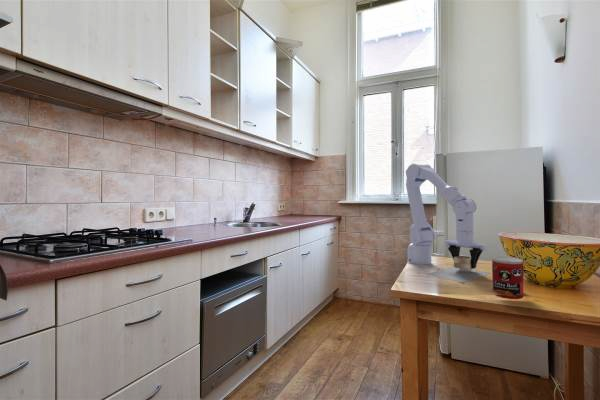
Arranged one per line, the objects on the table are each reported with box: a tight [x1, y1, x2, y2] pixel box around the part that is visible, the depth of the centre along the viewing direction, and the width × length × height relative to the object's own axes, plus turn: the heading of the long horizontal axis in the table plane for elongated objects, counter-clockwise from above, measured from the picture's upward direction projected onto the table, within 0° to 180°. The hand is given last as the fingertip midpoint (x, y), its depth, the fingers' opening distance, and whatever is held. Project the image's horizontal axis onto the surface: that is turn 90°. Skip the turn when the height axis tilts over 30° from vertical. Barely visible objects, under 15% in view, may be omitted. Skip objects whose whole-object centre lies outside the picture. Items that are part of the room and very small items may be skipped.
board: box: [426, 265, 491, 283], centre depth 110 cm, size 14×20×1 cm
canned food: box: [491, 256, 524, 300], centre depth 90 cm, size 8×8×11 cm
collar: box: [453, 254, 474, 270], centre depth 113 cm, size 6×6×4 cm
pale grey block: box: [459, 268, 471, 273], centre depth 113 cm, size 3×3×4 cm
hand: (465, 266), depth 113 cm, fingers closed on collar, 6 cm apart
